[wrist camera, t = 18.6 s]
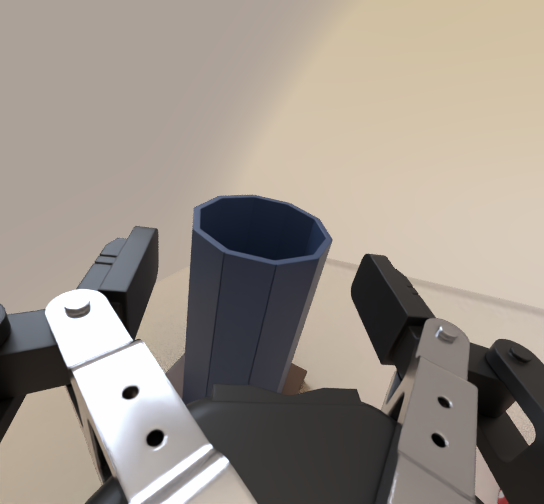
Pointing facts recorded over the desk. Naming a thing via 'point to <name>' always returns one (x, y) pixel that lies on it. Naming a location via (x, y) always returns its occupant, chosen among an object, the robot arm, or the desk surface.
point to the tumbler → (249, 291)
